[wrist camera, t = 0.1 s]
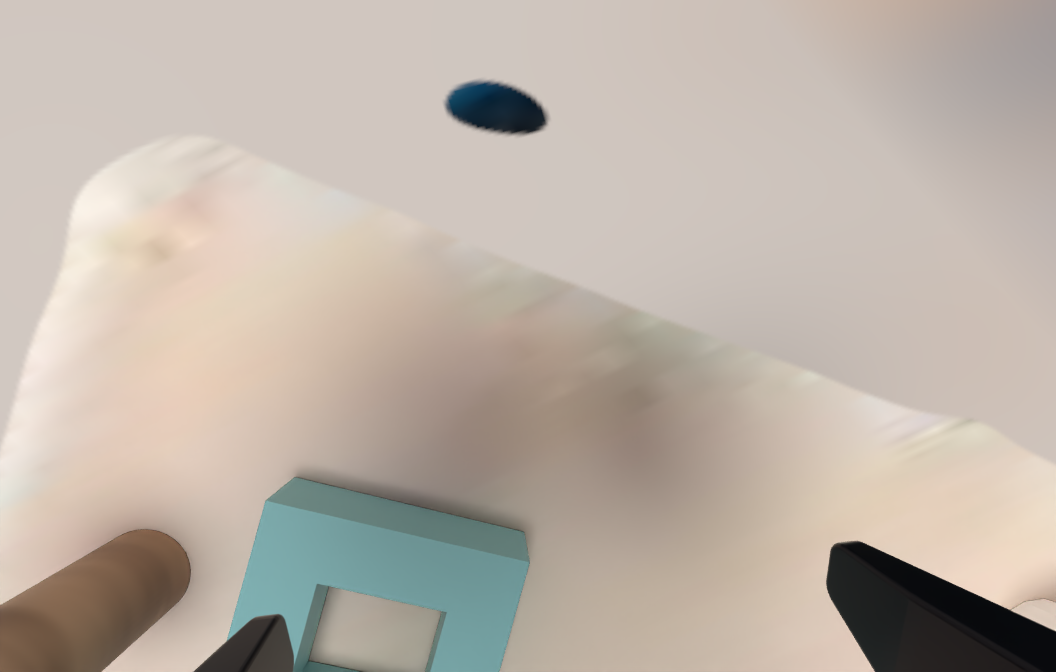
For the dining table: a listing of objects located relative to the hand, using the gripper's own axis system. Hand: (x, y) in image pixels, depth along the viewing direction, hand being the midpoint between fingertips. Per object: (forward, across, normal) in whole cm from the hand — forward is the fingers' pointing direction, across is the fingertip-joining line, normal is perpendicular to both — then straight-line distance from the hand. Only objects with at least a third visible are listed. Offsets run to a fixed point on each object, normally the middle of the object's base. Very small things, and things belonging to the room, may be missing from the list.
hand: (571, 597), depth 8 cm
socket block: (+13, +7, +12) cm, 19 cm away
